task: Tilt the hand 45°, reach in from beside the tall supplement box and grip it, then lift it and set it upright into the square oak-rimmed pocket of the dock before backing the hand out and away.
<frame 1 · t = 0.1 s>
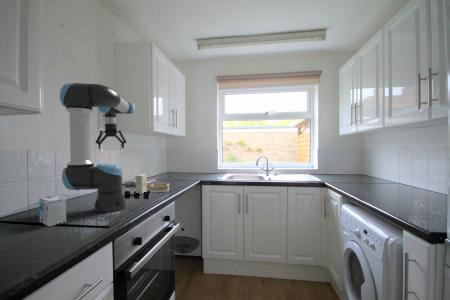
hand: (111, 153, 167), 28 cm above the counter, tool pointing down, fingers open, 13 cm apart
light bulb box: (53, 222, 101), on the counter
dock: (159, 190, 170), on the counter
supplement box: (141, 194, 160), on the counter
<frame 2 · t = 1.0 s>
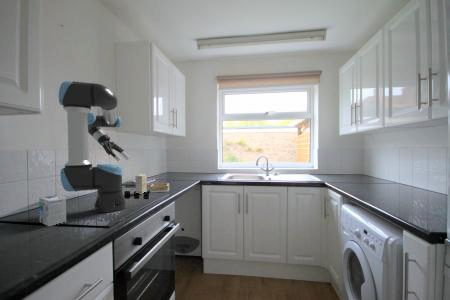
hand: (124, 159, 160), 24 cm above the counter, tool tilted 45°, fingers open, 13 cm apart
nothing on the counter moved.
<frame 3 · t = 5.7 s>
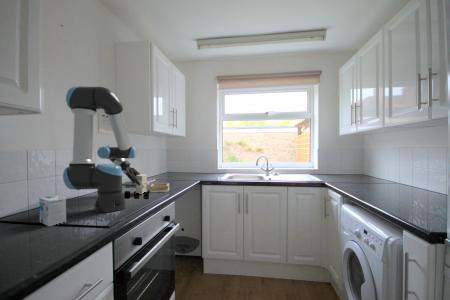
hand: (146, 186, 160), 5 cm above the counter, tool tilted 45°, fingers closed on supplement box, 8 cm apart
supplement box: (141, 193, 160), on the counter, touching gripper
everything else where it was.
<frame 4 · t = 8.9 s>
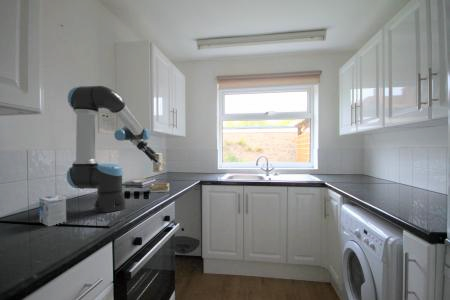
hand: (162, 164, 170), 19 cm above the counter, tool tilted 45°, fingers closed on supplement box, 8 cm apart
supplement box: (157, 171, 170), point 14 cm above the counter, touching gripper
everything else where it was.
when the fingers open (7 cm above the counter, at t = 12.2 s): supplement box drops 1 cm, resting on dock.
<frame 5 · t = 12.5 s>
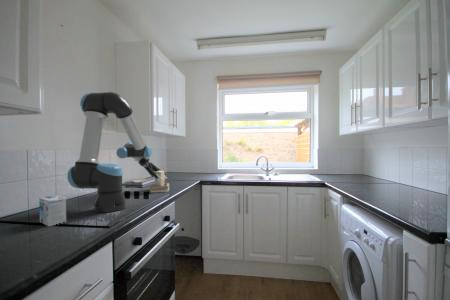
hand: (163, 180, 170), 8 cm above the counter, tool tilted 45°, fingers open, 11 cm apart
supplement box: (159, 189, 170), point 1 cm above the counter, touching dock
everything else where it was.
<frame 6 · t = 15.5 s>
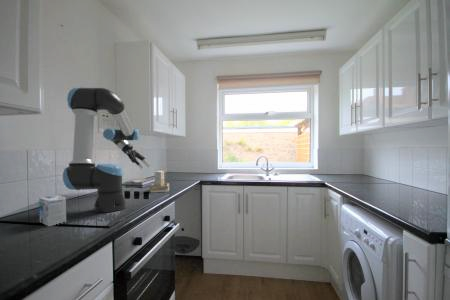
hand: (146, 166, 170), 17 cm above the counter, tool tilted 45°, fingers open, 13 cm apart
nothing on the counter moved.
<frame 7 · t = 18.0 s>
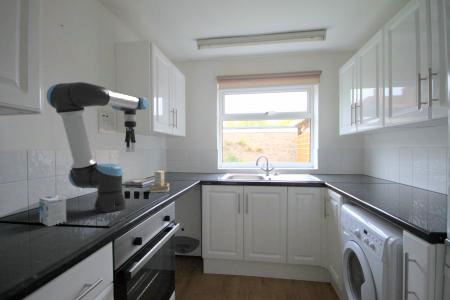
hand: (130, 152, 161), 29 cm above the counter, tool pointing down, fingers open, 13 cm apart
nothing on the counter moved.
at the end: supplement box 0.2 cm off-centre on the dock, point 1.0 cm above the dock's base; supplement box tilted 0°; the gripper is holding nothing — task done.
